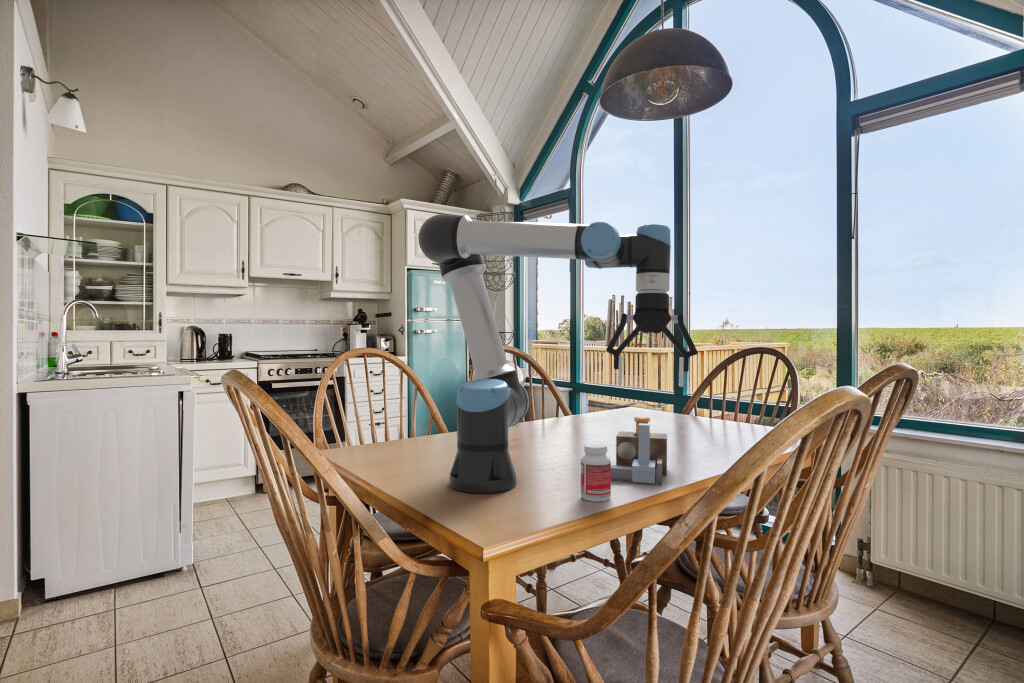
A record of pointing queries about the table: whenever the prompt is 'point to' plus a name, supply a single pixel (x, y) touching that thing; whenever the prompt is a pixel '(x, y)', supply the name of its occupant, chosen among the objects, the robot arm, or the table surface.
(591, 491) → the pill bottle
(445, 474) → the table surface
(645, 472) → the carriage
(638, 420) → the peg
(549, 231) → the robot arm
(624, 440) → the cabinet
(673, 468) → the table surface
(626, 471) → the grey u-shaped bracket
